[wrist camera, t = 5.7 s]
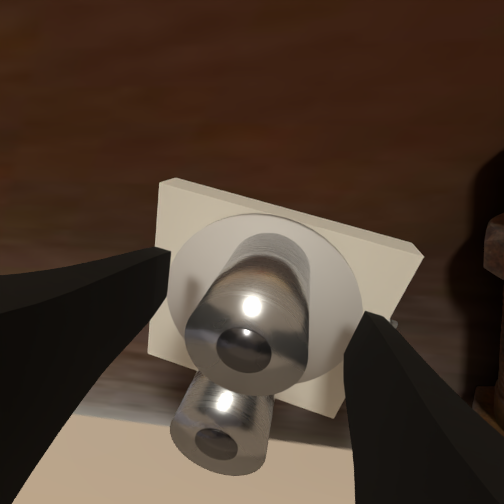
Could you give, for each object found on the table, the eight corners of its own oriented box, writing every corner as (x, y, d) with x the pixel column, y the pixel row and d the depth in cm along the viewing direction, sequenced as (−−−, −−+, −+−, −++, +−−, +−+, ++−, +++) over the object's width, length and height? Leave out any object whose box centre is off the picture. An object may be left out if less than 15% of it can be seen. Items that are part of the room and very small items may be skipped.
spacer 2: (210, 359, 15) (165, 455, 11) (221, 308, 14) (173, 395, 9) (272, 380, 15) (253, 489, 10) (290, 331, 13) (277, 433, 9)
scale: (160, 336, 19) (140, 362, 17) (175, 175, 14) (150, 183, 12) (339, 398, 17) (343, 435, 15) (423, 244, 13) (445, 266, 11)
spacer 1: (224, 291, 13) (177, 374, 9) (239, 222, 12) (191, 280, 7) (296, 313, 13) (287, 412, 8) (321, 246, 11) (327, 323, 7)
